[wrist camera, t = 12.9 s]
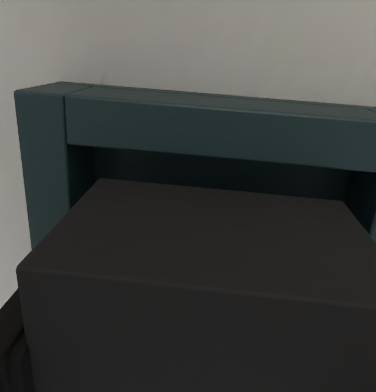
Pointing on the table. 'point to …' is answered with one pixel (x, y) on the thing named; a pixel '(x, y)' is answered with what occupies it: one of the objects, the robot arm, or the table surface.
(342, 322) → the black block
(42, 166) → the socket pad
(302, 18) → the table surface
